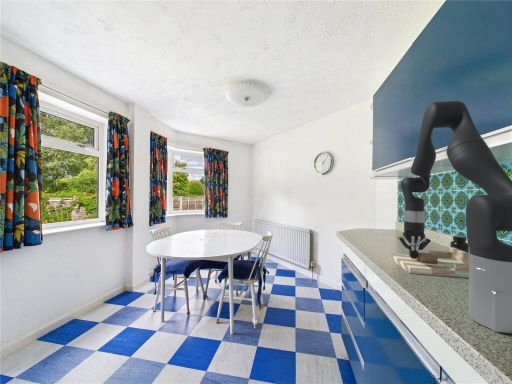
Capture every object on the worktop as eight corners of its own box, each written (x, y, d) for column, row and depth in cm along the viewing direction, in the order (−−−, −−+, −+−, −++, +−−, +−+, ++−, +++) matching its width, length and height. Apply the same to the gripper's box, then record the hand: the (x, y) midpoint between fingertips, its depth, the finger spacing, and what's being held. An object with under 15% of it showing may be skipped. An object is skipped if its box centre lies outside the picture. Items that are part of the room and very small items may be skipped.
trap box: (488, 280, 82) (488, 260, 82) (409, 273, 88) (410, 255, 88) (453, 263, 102) (453, 247, 102) (390, 258, 108) (391, 243, 108)
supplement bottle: (473, 262, 103) (473, 238, 103) (458, 262, 103) (459, 237, 103) (459, 258, 110) (460, 235, 110) (446, 258, 110) (446, 234, 110)
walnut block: (437, 264, 92) (437, 256, 92) (421, 263, 94) (421, 255, 94) (429, 260, 98) (429, 252, 98) (414, 259, 99) (414, 251, 99)
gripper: (401, 221, 94) (400, 259, 95) (435, 222, 92) (435, 262, 92) (394, 219, 102) (393, 254, 102) (425, 220, 99) (425, 257, 99)
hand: (413, 258), depth 97 cm, fingers closed
